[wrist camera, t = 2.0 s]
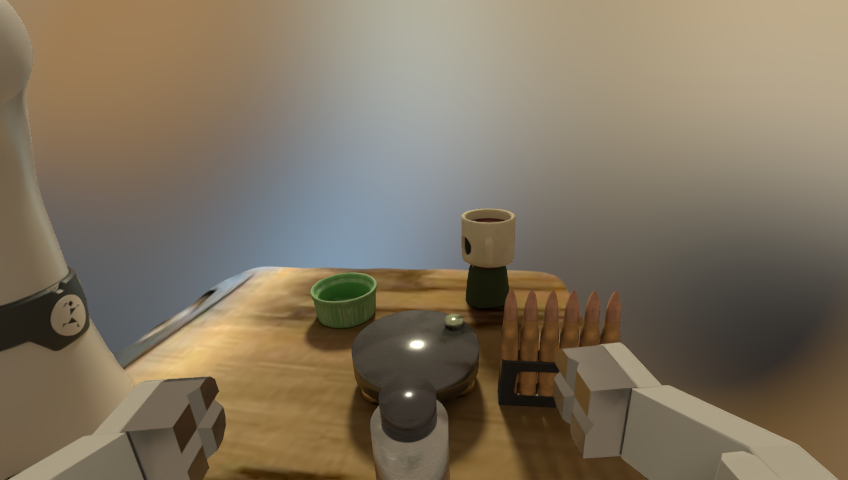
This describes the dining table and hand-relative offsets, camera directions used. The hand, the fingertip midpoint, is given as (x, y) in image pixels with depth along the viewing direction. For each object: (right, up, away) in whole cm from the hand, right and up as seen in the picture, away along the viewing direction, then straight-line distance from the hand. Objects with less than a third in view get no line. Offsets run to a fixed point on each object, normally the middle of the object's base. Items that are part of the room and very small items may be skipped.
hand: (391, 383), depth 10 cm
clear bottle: (0, -17, +19) cm, 25 cm away
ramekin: (-10, -7, +47) cm, 49 cm away
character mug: (+10, -6, +48) cm, 49 cm away
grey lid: (0, -11, +33) cm, 35 cm away
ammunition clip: (+13, -12, +29) cm, 35 cm away
